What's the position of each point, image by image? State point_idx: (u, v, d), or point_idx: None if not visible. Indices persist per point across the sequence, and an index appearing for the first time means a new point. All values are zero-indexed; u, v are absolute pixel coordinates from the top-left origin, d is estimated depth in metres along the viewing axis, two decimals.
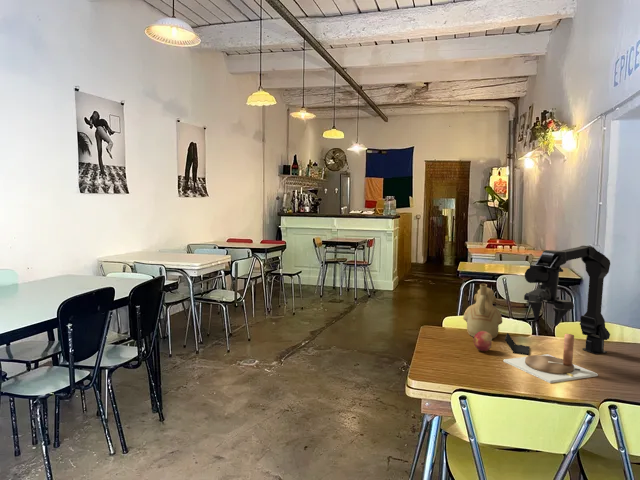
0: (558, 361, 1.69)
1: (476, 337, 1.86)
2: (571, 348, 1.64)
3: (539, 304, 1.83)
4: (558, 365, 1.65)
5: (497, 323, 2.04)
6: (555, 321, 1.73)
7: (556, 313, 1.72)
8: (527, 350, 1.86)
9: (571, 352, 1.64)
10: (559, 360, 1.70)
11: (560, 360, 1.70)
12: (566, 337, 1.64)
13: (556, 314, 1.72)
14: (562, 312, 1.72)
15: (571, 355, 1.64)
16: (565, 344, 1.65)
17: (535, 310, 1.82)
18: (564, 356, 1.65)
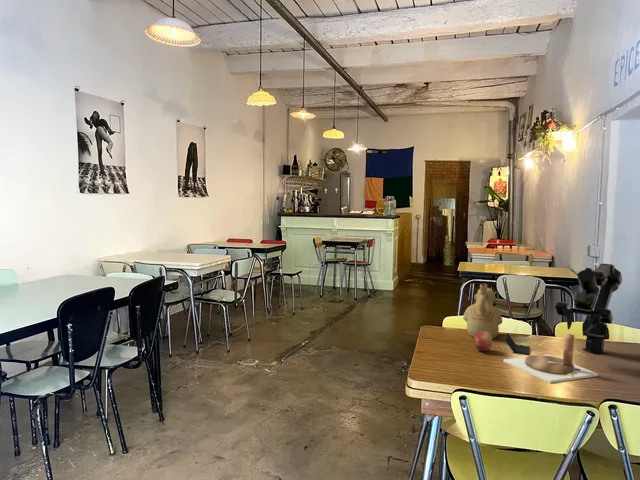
0: (558, 361, 1.69)
1: (476, 337, 1.86)
2: (571, 348, 1.64)
3: (572, 317, 1.76)
4: (558, 365, 1.65)
5: (497, 323, 2.04)
6: (587, 327, 1.68)
7: (591, 319, 1.69)
8: (527, 350, 1.86)
9: (571, 352, 1.64)
10: (559, 360, 1.70)
11: (560, 360, 1.70)
12: (566, 337, 1.64)
13: (591, 320, 1.69)
14: (594, 322, 1.70)
15: (571, 355, 1.64)
16: (565, 344, 1.65)
17: (570, 319, 1.74)
18: (564, 356, 1.65)
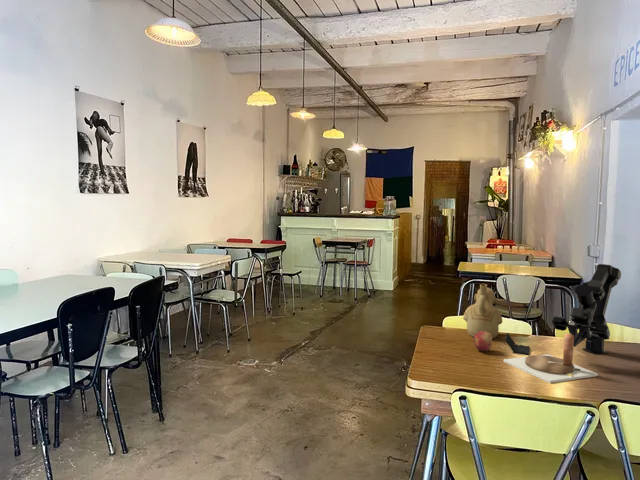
0: (558, 361, 1.69)
1: (476, 337, 1.86)
2: (571, 348, 1.64)
3: (577, 334, 1.73)
4: (558, 365, 1.65)
5: (497, 323, 2.04)
6: (576, 341, 1.69)
7: (580, 333, 1.70)
8: (527, 350, 1.86)
9: (571, 352, 1.64)
10: (559, 360, 1.70)
11: (560, 360, 1.70)
12: (566, 337, 1.64)
13: (580, 334, 1.69)
14: (583, 336, 1.71)
15: (571, 355, 1.64)
16: (565, 344, 1.65)
17: (575, 336, 1.71)
18: (564, 356, 1.65)
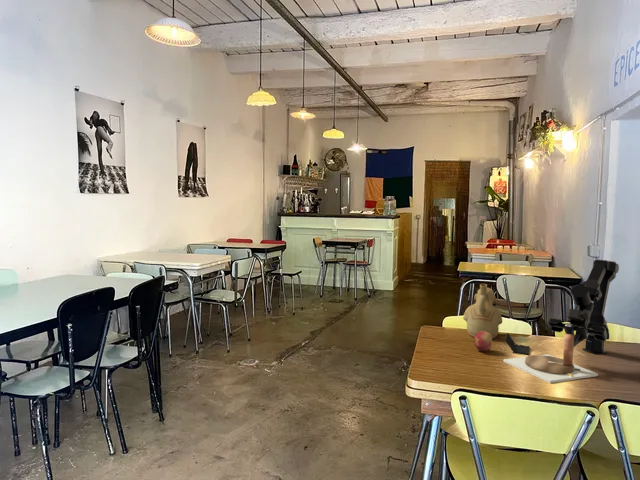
0: (558, 361, 1.69)
1: (476, 337, 1.86)
2: (571, 348, 1.63)
3: (574, 335, 1.70)
4: (558, 365, 1.65)
5: (497, 323, 2.04)
6: None
7: (577, 335, 1.67)
8: (527, 350, 1.86)
9: (571, 352, 1.64)
10: (559, 360, 1.70)
11: (561, 360, 1.70)
12: (566, 337, 1.64)
13: (576, 336, 1.66)
14: (580, 338, 1.68)
15: (571, 355, 1.64)
16: (565, 344, 1.64)
17: None
18: (564, 356, 1.65)
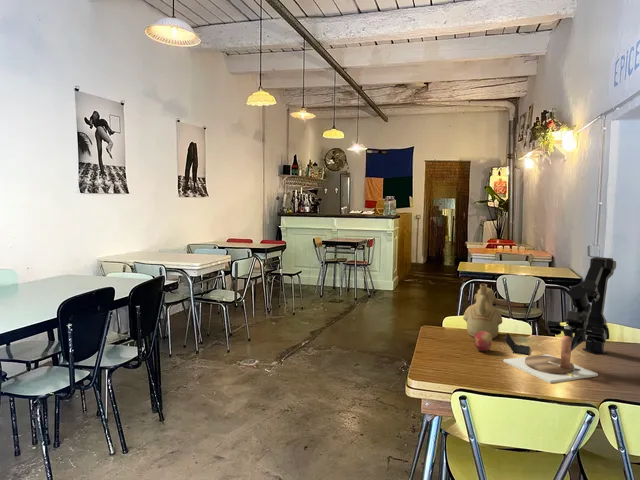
0: None
1: (476, 337, 1.86)
2: (566, 351, 1.61)
3: (573, 338, 1.67)
4: (552, 365, 1.64)
5: (497, 323, 2.04)
6: (572, 345, 1.63)
7: (575, 337, 1.63)
8: (527, 350, 1.86)
9: (566, 354, 1.61)
10: None
11: None
12: (562, 339, 1.62)
13: (575, 338, 1.63)
14: (578, 340, 1.65)
15: (566, 358, 1.61)
16: None
17: None
18: (561, 358, 1.63)
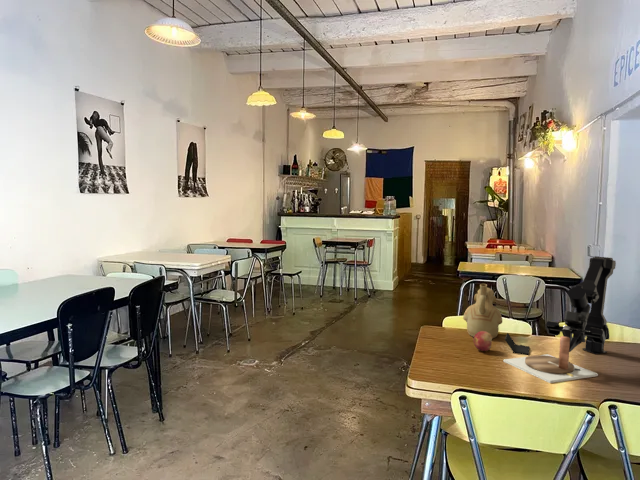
0: None
1: (476, 337, 1.86)
2: (563, 351, 1.61)
3: (572, 338, 1.66)
4: (551, 365, 1.64)
5: (497, 323, 2.04)
6: (570, 346, 1.62)
7: (574, 337, 1.63)
8: (527, 350, 1.86)
9: (563, 355, 1.61)
10: None
11: None
12: (560, 339, 1.62)
13: (574, 339, 1.63)
14: (577, 341, 1.64)
15: (563, 358, 1.61)
16: None
17: (570, 341, 1.64)
18: (559, 358, 1.63)
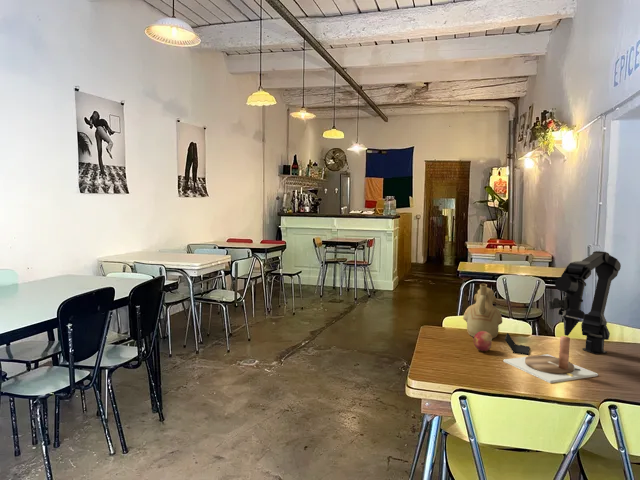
0: None
1: (476, 337, 1.86)
2: (563, 351, 1.61)
3: None
4: (551, 365, 1.64)
5: (497, 323, 2.04)
6: (565, 330, 1.74)
7: (565, 321, 1.74)
8: (527, 350, 1.86)
9: (563, 355, 1.61)
10: None
11: None
12: (560, 339, 1.62)
13: (565, 322, 1.74)
14: (572, 322, 1.73)
15: (563, 358, 1.61)
16: None
17: None
18: (559, 358, 1.63)
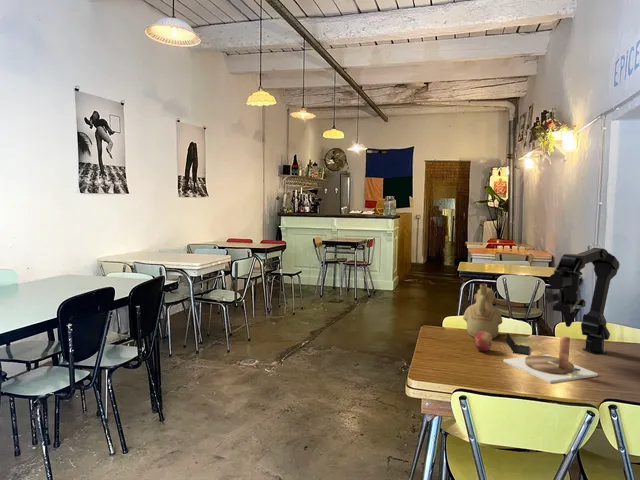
0: None
1: (476, 337, 1.86)
2: (563, 351, 1.61)
3: None
4: (551, 365, 1.64)
5: (497, 323, 2.04)
6: None
7: None
8: (527, 350, 1.86)
9: (563, 355, 1.61)
10: None
11: None
12: (560, 339, 1.62)
13: None
14: (570, 314, 1.75)
15: (563, 358, 1.61)
16: None
17: None
18: (559, 358, 1.63)
